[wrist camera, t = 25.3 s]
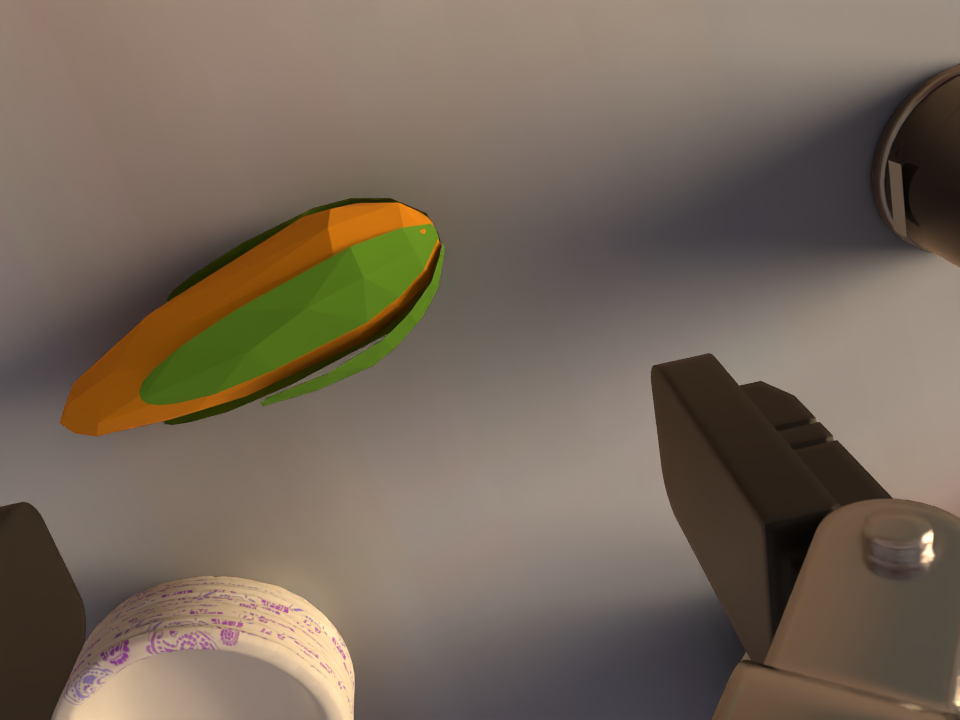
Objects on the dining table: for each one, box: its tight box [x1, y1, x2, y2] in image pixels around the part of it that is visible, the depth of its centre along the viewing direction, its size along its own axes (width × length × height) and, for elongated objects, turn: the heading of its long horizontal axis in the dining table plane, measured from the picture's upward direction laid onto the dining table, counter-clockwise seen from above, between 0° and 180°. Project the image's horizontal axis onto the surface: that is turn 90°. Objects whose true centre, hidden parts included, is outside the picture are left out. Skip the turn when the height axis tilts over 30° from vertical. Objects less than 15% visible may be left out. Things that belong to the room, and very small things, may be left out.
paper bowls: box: [52, 576, 355, 720], centre depth 48 cm, size 15×15×8 cm
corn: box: [60, 198, 445, 436], centre depth 40 cm, size 7×8×20 cm
